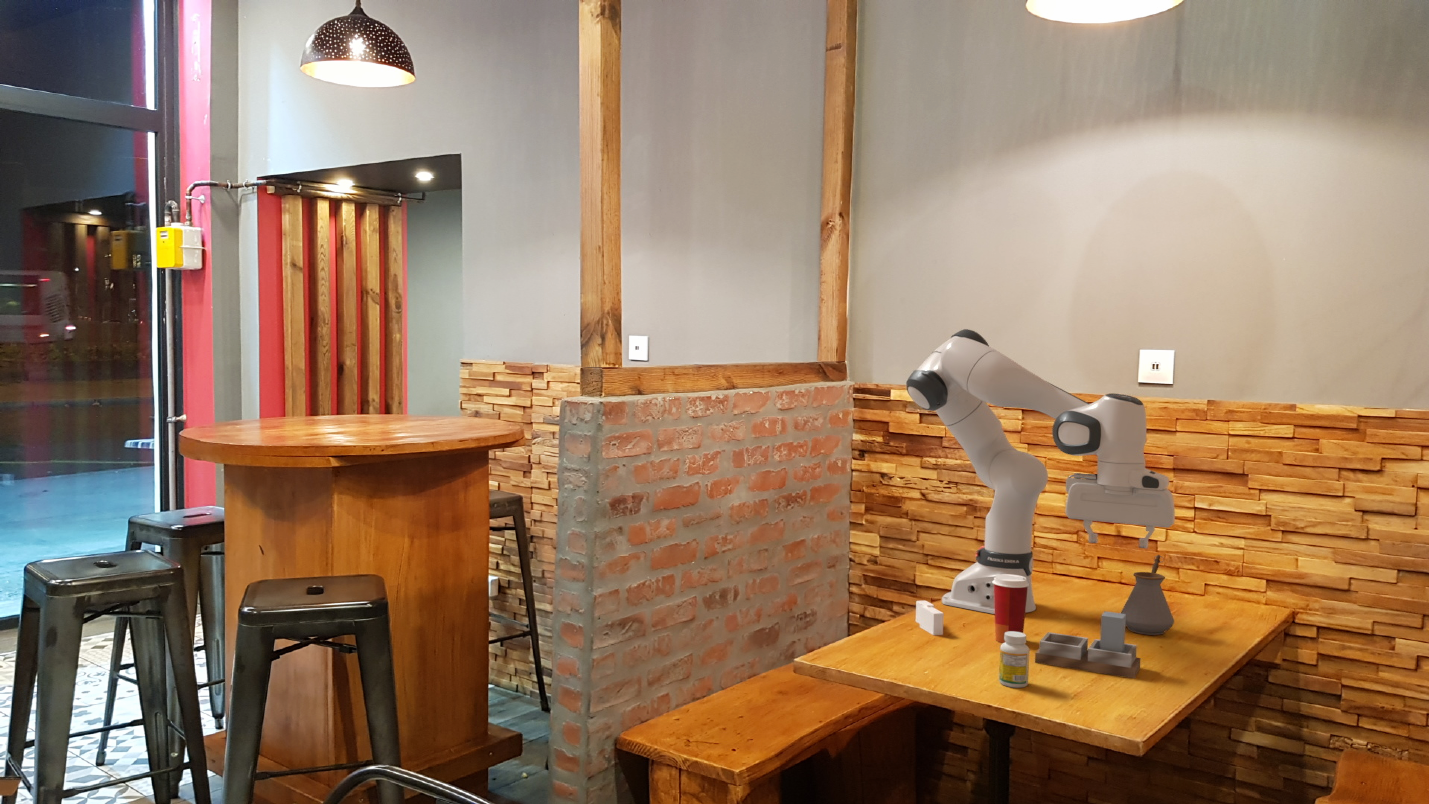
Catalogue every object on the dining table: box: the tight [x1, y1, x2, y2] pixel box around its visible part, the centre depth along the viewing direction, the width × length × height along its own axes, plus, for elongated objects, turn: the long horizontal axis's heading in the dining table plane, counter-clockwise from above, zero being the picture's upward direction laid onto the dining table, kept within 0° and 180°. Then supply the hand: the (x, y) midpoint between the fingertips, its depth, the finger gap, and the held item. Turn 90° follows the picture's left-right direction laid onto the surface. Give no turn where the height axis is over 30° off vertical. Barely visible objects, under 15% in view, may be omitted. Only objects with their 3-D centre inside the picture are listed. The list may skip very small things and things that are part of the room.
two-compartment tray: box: [1034, 632, 1142, 679], centre depth 212 cm, size 19×8×4 cm, turn 61°
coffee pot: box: [1120, 554, 1175, 636], centre depth 243 cm, size 21×12×15 cm, turn 149°
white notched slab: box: [915, 600, 945, 636], centre depth 239 cm, size 15×11×6 cm
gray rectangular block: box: [1099, 610, 1126, 653], centre depth 210 cm, size 4×4×9 cm
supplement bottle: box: [998, 631, 1030, 689], centre depth 200 cm, size 5×5×10 cm
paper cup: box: [992, 574, 1029, 644], centre depth 229 cm, size 8×8×14 cm
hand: (1117, 545), depth 209 cm, fingers open, 8 cm apart
